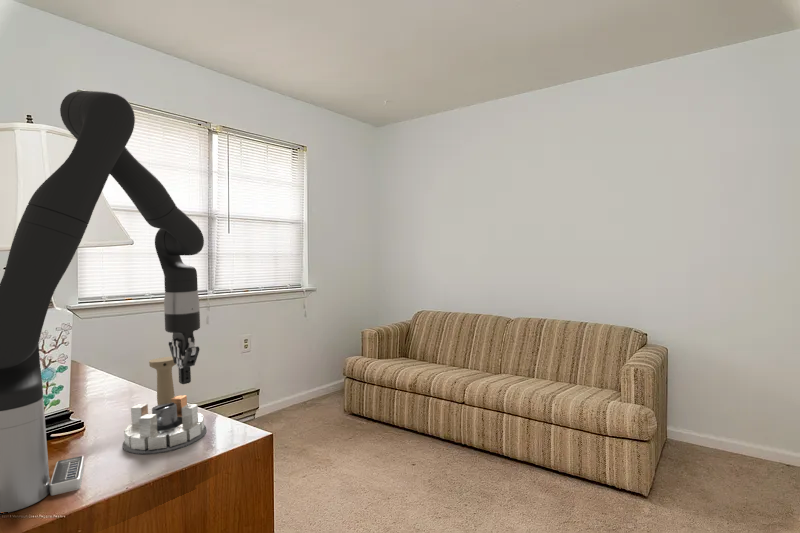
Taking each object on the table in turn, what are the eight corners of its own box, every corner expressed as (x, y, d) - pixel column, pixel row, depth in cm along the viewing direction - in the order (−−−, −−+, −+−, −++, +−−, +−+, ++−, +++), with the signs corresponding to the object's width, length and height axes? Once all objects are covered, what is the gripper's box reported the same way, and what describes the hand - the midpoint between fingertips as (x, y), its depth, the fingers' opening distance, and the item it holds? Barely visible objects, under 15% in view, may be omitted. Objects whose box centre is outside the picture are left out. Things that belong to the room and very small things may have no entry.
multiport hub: (50, 498, 83) (49, 485, 83) (57, 472, 93) (56, 460, 93) (80, 490, 85) (79, 478, 85) (84, 466, 95) (83, 455, 95)
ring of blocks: (152, 460, 96) (150, 425, 95) (106, 444, 104) (104, 411, 104) (222, 430, 110) (220, 399, 110) (176, 418, 119) (175, 389, 118)
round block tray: (218, 423, 113) (216, 396, 112) (169, 452, 98) (167, 422, 97) (163, 418, 117) (161, 392, 117) (108, 446, 102) (106, 416, 101)
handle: (152, 417, 120) (148, 359, 119) (179, 412, 123) (176, 355, 122) (153, 423, 116) (149, 363, 115) (182, 418, 119) (178, 359, 118)
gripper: (210, 311, 109) (212, 385, 110) (187, 306, 118) (189, 374, 119) (176, 315, 104) (179, 392, 105) (155, 309, 113) (158, 381, 114)
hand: (184, 382), depth 112 cm, fingers closed
